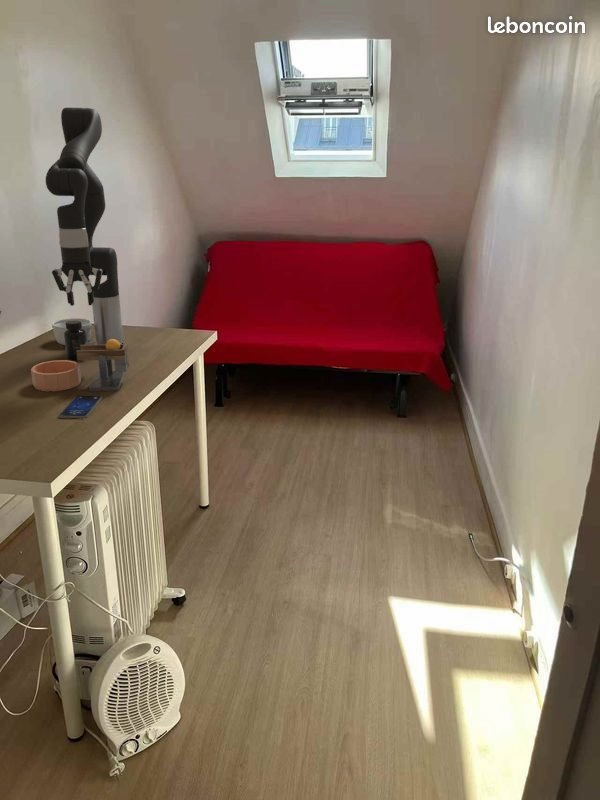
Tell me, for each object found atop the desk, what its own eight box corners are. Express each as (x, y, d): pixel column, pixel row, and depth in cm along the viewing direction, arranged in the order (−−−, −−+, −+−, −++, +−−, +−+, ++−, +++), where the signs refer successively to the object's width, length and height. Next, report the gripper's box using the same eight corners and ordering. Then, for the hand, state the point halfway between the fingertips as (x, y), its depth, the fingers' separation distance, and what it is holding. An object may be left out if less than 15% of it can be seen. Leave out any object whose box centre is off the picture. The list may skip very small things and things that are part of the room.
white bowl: (101, 340, 216) (99, 321, 213) (70, 348, 205) (68, 329, 203) (77, 334, 222) (74, 316, 220) (46, 342, 212) (43, 323, 209)
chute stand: (97, 374, 181) (94, 344, 177) (124, 374, 182) (121, 343, 179) (89, 391, 168) (85, 358, 165) (118, 390, 169) (115, 357, 166)
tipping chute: (88, 357, 183) (85, 337, 181) (131, 356, 185) (130, 336, 183) (78, 373, 169) (76, 351, 167) (126, 372, 171) (124, 350, 169)
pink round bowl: (40, 377, 178) (37, 360, 176) (84, 375, 180) (82, 359, 178) (28, 392, 166) (26, 374, 164) (76, 390, 168) (73, 373, 166)
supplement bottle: (92, 355, 199) (88, 319, 195) (83, 361, 193) (79, 325, 188) (72, 354, 200) (68, 319, 195) (63, 360, 193) (58, 324, 189)
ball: (107, 350, 174) (106, 337, 172) (121, 350, 174) (120, 337, 173) (105, 354, 170) (103, 341, 169) (119, 354, 171) (118, 340, 169)
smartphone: (103, 395, 164) (86, 417, 150) (103, 398, 164) (86, 420, 150) (76, 394, 164) (56, 416, 150) (76, 397, 164) (56, 419, 150)
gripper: (102, 243, 172) (108, 301, 178) (50, 243, 170) (58, 302, 176) (98, 246, 165) (104, 307, 171) (44, 246, 163) (52, 308, 169)
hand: (81, 304), depth 174 cm, fingers open, 4 cm apart
